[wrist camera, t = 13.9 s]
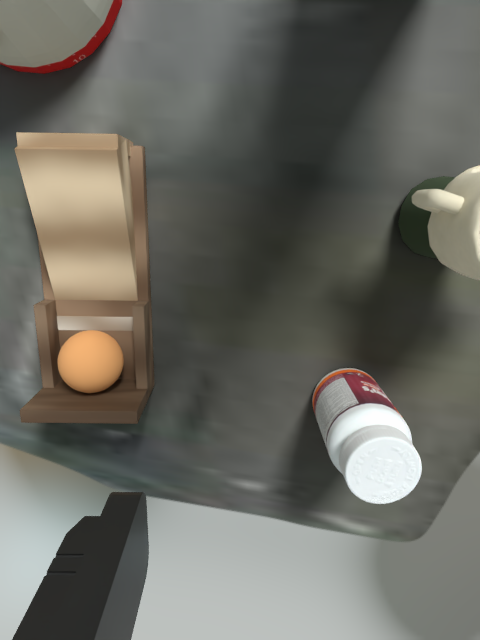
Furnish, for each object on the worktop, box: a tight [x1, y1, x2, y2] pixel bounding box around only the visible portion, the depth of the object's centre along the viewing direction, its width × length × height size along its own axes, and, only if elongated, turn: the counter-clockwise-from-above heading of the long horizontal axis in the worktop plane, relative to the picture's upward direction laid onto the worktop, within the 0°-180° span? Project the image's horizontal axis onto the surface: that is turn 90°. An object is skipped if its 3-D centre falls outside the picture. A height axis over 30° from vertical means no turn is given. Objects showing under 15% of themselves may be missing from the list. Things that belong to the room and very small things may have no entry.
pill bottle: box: [312, 368, 422, 504], centre depth 35 cm, size 6×6×11 cm
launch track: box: [15, 132, 154, 424], centre depth 34 cm, size 20×9×9 cm, turn 179°
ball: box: [58, 330, 124, 393], centre depth 35 cm, size 5×5×5 cm
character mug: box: [398, 166, 480, 281], centre depth 30 cm, size 11×7×13 cm, turn 72°
